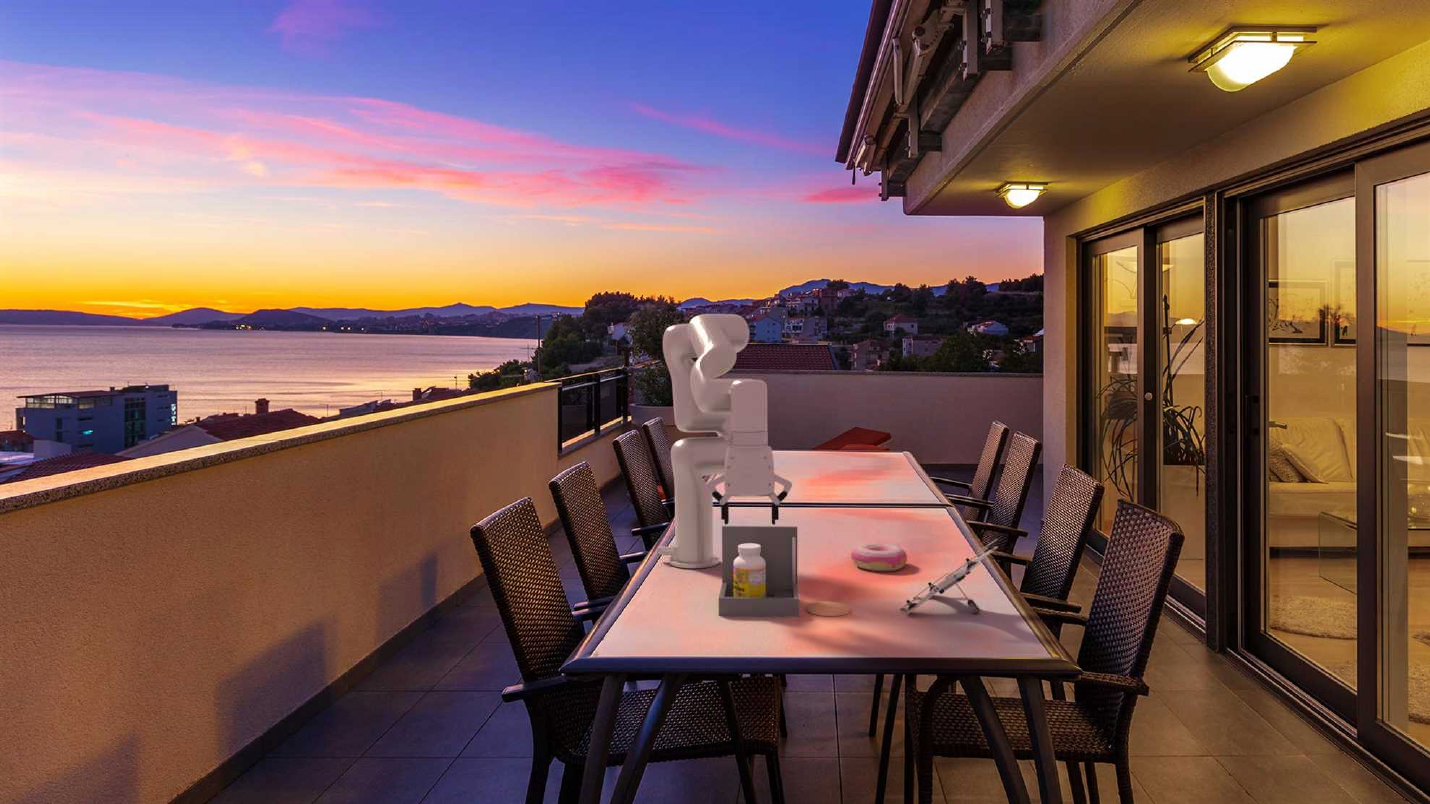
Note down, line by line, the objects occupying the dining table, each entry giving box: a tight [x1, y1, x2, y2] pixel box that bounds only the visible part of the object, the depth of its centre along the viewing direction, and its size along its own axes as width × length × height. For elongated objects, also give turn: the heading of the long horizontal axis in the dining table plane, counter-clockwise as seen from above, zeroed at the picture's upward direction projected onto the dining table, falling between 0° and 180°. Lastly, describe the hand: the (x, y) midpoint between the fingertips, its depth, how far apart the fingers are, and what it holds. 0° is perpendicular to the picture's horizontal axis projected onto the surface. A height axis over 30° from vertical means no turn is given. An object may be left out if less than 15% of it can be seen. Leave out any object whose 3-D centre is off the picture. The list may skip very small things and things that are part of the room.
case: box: [718, 525, 800, 618], centre depth 171 cm, size 16×13×16 cm
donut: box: [850, 542, 908, 572], centre depth 205 cm, size 14×13×5 cm
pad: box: [805, 601, 851, 617], centre depth 169 cm, size 9×9×1 cm
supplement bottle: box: [734, 543, 766, 597], centre depth 171 cm, size 7×7×13 cm
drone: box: [899, 538, 999, 615], centre depth 168 cm, size 23×23×10 cm
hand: (750, 523), depth 170 cm, fingers open, 9 cm apart
